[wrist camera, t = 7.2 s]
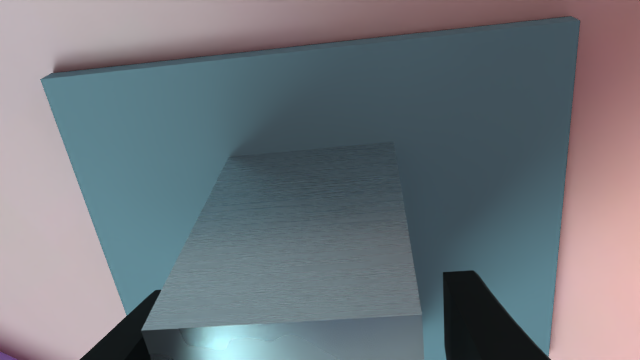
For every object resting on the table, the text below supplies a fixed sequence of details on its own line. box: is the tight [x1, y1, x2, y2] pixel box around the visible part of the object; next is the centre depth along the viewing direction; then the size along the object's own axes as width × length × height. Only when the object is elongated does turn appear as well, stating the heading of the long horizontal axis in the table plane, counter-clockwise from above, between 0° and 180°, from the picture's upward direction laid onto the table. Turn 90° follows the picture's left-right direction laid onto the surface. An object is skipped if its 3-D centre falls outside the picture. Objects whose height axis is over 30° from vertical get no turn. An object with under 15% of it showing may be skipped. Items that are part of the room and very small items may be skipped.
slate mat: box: [40, 16, 580, 360], centre depth 14 cm, size 12×10×1 cm
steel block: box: [141, 142, 424, 360], centre depth 11 cm, size 4×6×6 cm, turn 7°
